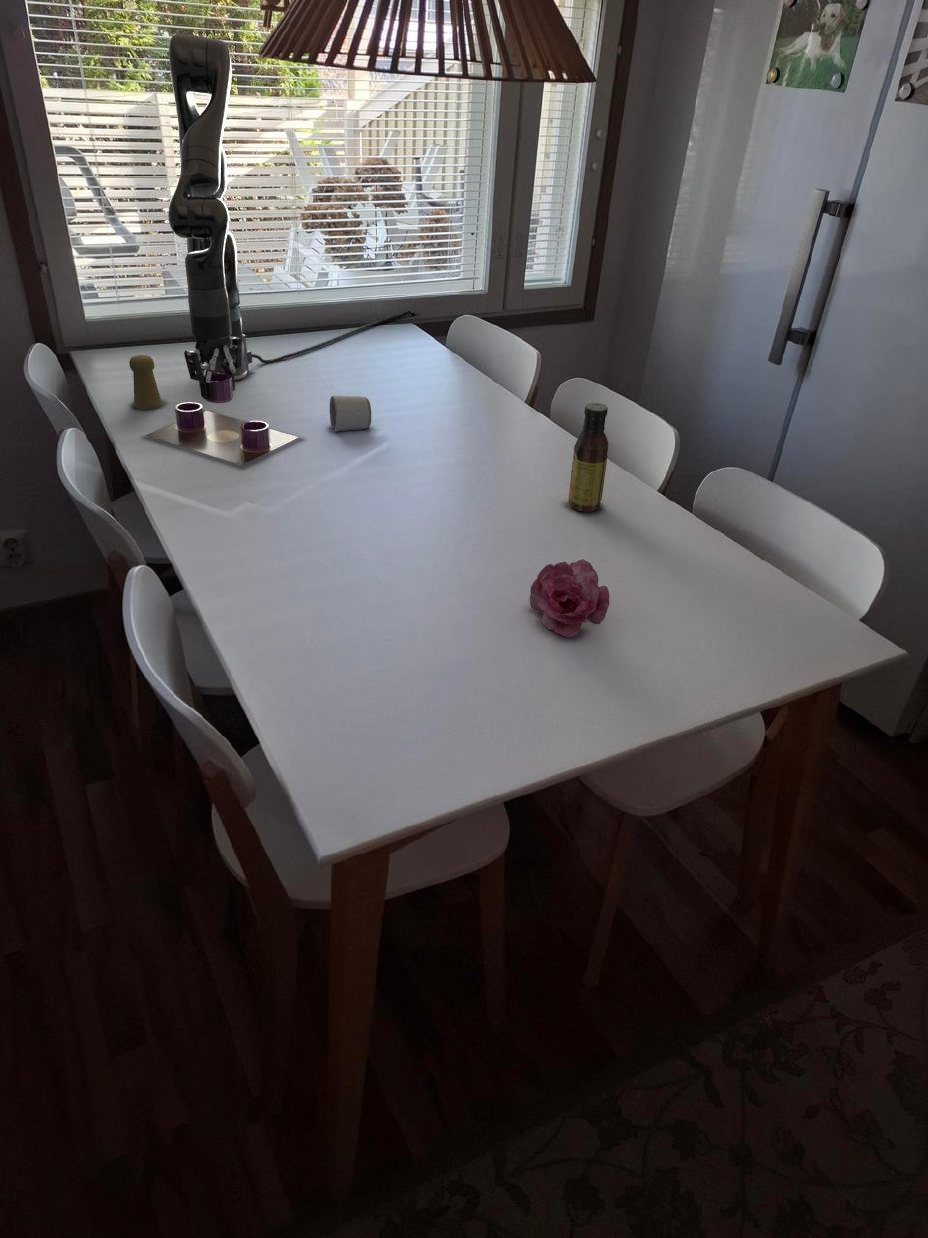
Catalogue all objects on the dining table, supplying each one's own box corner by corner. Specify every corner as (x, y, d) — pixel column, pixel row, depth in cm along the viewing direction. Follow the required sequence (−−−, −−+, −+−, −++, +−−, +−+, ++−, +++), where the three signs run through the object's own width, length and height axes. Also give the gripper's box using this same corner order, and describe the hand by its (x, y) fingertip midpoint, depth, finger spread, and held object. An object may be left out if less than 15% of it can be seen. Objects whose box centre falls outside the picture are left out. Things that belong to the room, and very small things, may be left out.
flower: (574, 660, 126) (544, 619, 120) (542, 629, 134) (512, 589, 128) (633, 610, 127) (605, 567, 120) (597, 582, 134) (569, 540, 128)
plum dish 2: (203, 394, 177) (201, 373, 174) (231, 393, 178) (229, 372, 176) (206, 404, 172) (204, 382, 170) (235, 402, 174) (233, 380, 172)
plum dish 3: (254, 438, 180) (253, 418, 177) (275, 444, 178) (274, 424, 175) (236, 447, 176) (234, 426, 173) (257, 453, 173) (256, 433, 171)
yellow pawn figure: (157, 410, 192) (149, 361, 186) (130, 408, 192) (122, 359, 186) (165, 400, 197) (158, 352, 191) (139, 399, 197) (131, 351, 191)
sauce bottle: (581, 496, 166) (595, 396, 155) (607, 507, 162) (623, 406, 151) (559, 505, 162) (572, 404, 151) (585, 517, 159) (600, 414, 147)
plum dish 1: (205, 421, 186) (203, 401, 184) (204, 431, 182) (201, 411, 179) (178, 422, 185) (176, 402, 183) (176, 431, 181) (173, 411, 178)
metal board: (207, 413, 192) (207, 410, 192) (299, 439, 182) (299, 437, 182) (146, 437, 179) (145, 435, 178) (241, 468, 169) (241, 465, 168)
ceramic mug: (373, 433, 187) (372, 399, 182) (336, 436, 184) (335, 402, 180) (361, 417, 195) (360, 384, 191) (325, 420, 192) (324, 386, 188)
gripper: (197, 321, 159) (207, 408, 168) (249, 306, 170) (256, 389, 179) (167, 314, 162) (179, 400, 171) (220, 300, 172) (229, 382, 182)
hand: (218, 394), depth 175 cm, fingers closed on plum dish 2, 5 cm apart
